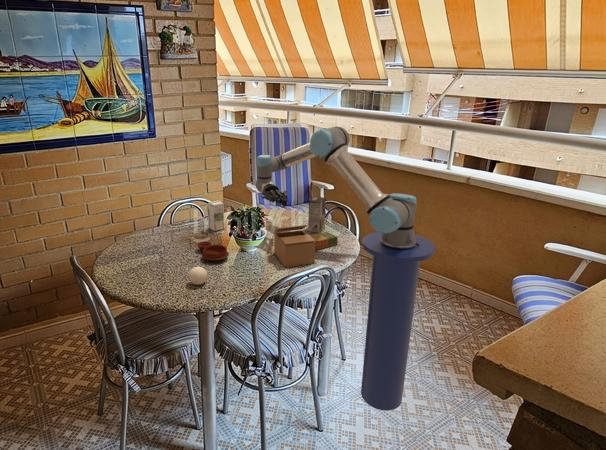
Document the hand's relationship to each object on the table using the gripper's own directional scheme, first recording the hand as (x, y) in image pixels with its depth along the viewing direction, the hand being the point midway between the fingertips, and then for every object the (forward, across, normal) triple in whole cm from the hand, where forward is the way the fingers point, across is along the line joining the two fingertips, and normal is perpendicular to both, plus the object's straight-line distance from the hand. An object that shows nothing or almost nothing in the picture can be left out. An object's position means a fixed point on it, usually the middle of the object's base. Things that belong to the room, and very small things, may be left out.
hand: (285, 203), depth 181 cm
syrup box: (-34, +26, -21) cm, 47 cm away
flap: (+8, 0, -9) cm, 12 cm away
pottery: (-1, +34, -21) cm, 40 cm away
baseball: (+24, +43, -21) cm, 53 cm away
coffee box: (-18, -23, -21) cm, 36 cm away
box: (+12, 0, -21) cm, 24 cm away
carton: (+2, -16, -21) cm, 27 cm away
